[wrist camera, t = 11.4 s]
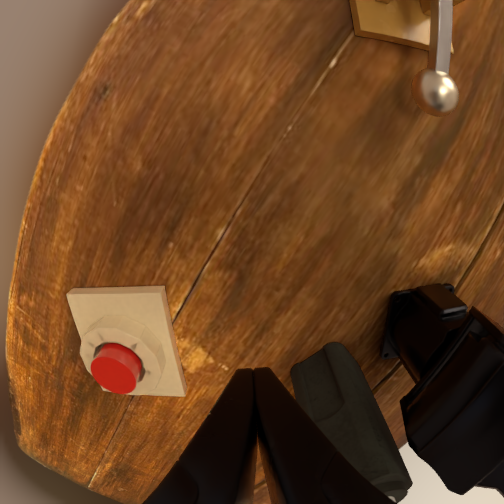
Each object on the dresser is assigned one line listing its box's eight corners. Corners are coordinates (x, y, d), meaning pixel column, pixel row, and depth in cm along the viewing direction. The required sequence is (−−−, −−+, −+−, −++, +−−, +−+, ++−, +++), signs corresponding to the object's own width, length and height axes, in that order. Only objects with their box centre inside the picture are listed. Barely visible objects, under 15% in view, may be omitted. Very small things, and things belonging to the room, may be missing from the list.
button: (147, 380, 20) (142, 396, 19) (107, 377, 20) (99, 391, 19) (135, 343, 19) (128, 358, 17) (92, 341, 19) (83, 355, 17)
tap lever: (436, 110, 16) (463, 127, 14) (400, 104, 16) (425, 119, 14) (443, -50, 7) (472, -54, 5) (402, -67, 7) (429, -76, 5)
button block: (187, 387, 24) (182, 412, 21) (106, 382, 24) (96, 404, 21) (164, 285, 21) (154, 305, 18) (72, 287, 21) (54, 305, 18)
